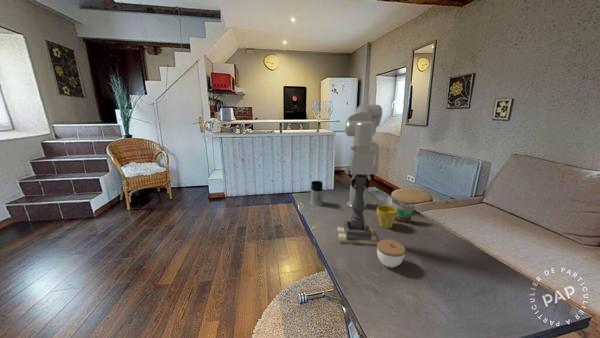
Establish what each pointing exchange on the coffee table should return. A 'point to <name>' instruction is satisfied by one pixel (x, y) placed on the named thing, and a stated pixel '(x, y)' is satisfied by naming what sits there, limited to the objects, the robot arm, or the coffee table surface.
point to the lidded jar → (390, 253)
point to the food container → (403, 212)
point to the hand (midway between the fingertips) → (359, 186)
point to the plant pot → (386, 216)
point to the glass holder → (317, 193)
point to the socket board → (356, 234)
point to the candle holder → (358, 201)
